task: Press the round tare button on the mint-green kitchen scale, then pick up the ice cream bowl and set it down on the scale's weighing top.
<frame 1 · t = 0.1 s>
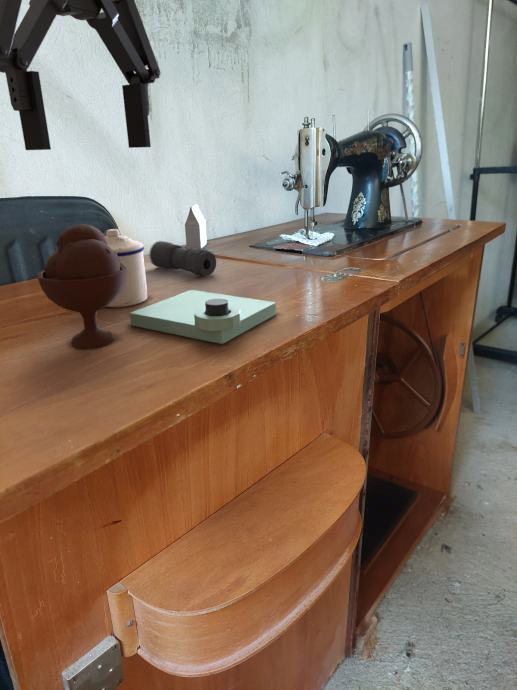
hand: (94, 149, 54), 24 cm above the table, tool pointing down, fingers open, 13 cm apart
flashlight: (182, 272, 105), on the table
white pointed block: (196, 246, 132), on the table
tare button: (217, 308, 67), point 4 cm above the table, slide at 0.1 cm
teacup with lid: (112, 301, 86), on the table
scale: (205, 319, 76), on the table
ice cream bowl: (93, 342, 69), on the table
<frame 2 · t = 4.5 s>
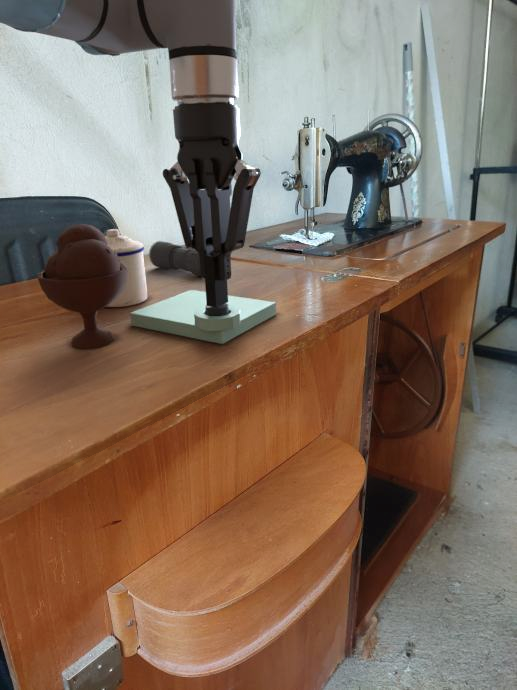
hand: (217, 303, 67), 5 cm above the table, tool pointing down, fingers closed
tare button: (217, 311, 67), point 3 cm above the table, slide at -0.4 cm, touching gripper
everything else where it was.
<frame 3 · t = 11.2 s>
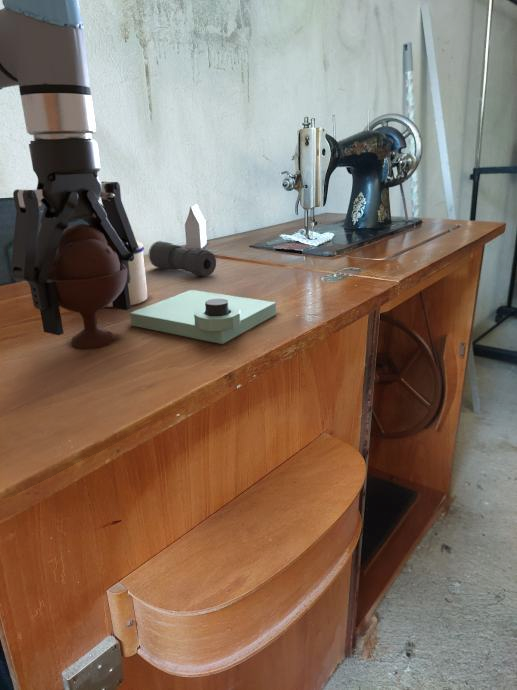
hand: (90, 319, 67), 3 cm above the table, tool pointing down, fingers closed on ice cream bowl, 11 cm apart
tare button: (217, 308, 67), point 4 cm above the table, slide at 0.1 cm
ice cream bowl: (93, 342, 69), on the table, touching gripper
everything else where it was.
when the fingers open (5 cm above the table, at t = 19.7 s): ice cream bowl stays where it is, resting on scale.
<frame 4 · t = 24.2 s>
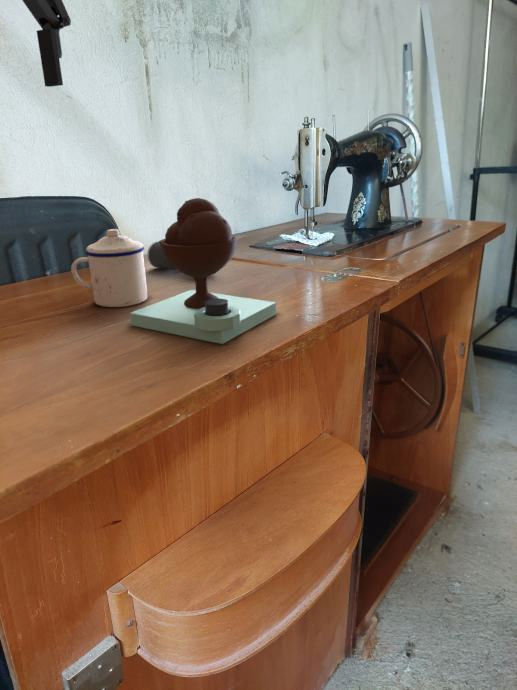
hand: (8, 81, 64), 32 cm above the table, tool pointing down, fingers open, 13 cm apart
ice cream bowl: (202, 304, 77), point 2 cm above the table, touching scale
everything else where it was.
at the end: tare button pushed in 0.8 cm at the most during the clip, back to where it started at the end; ice cream bowl inside the target area on the scale (0.3 cm from its centre), point 1.7 cm above the scale's base; ice cream bowl touching scale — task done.
